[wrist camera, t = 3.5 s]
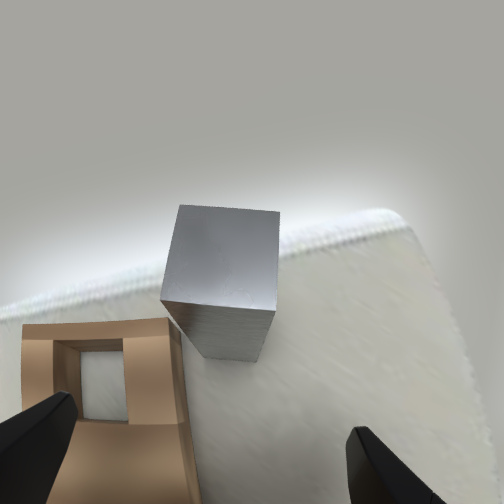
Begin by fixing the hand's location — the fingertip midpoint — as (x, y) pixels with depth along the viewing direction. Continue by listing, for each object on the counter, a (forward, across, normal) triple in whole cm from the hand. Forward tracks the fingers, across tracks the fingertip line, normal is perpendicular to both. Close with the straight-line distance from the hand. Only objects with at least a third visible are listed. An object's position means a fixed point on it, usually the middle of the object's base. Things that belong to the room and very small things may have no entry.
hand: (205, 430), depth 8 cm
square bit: (+12, 0, +4) cm, 13 cm away
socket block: (+5, +7, +12) cm, 15 cm away
